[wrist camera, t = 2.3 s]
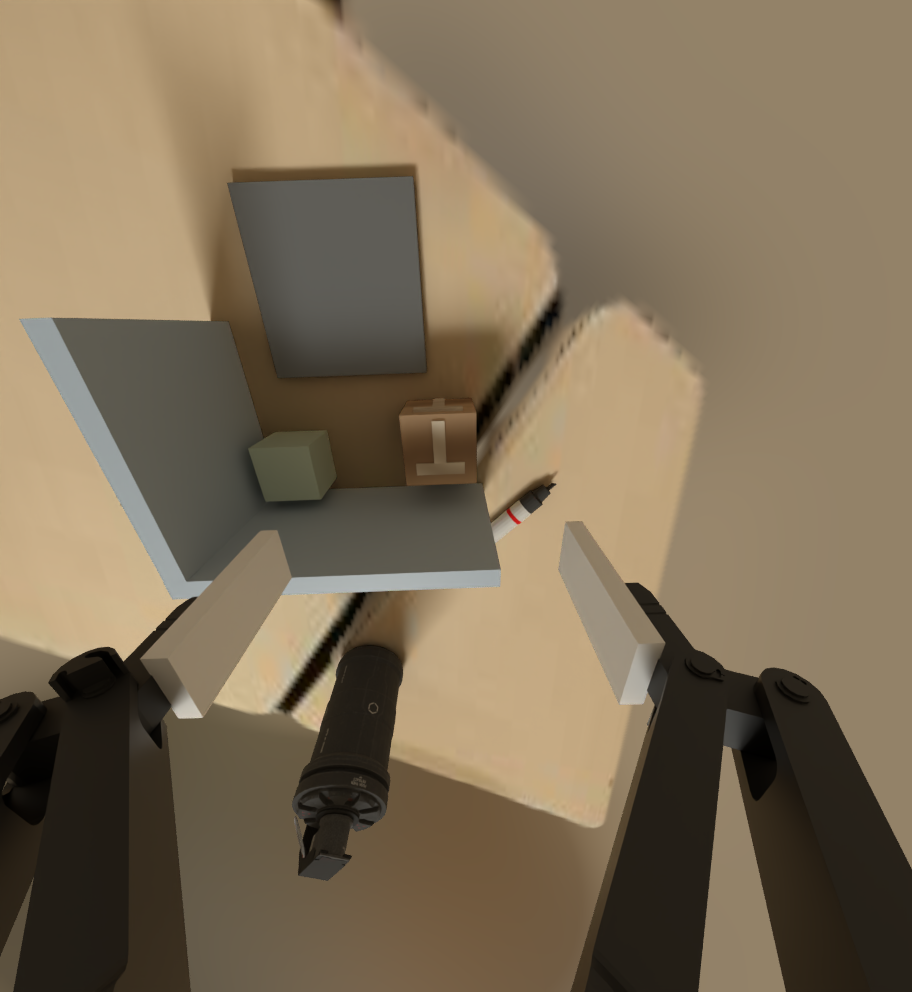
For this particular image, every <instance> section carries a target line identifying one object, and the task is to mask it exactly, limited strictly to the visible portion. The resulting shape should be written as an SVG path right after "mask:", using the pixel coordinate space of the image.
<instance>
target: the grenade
mask: <svg viewBox="0 0 912 992" xmlns="http://www.w3.org/2000/svg"><path fill="white" fill-rule="evenodd" d="M402 678H403V668H402V664H401V661H400V660H399V658H398V657H397V656H396V655H395V654H393V653H392V652H390V651H389V650H387V649H385V648H381V647H377V646H362V647H358V648H355V649H353V650H350V651H349V652H347V653H346V654H345V655H344V656H343V658H342V659H341V660H340V662H339V664H338V667H337V671H336V682H335V685H334V688H333V691H332V695H331V698H330V701H329V702H328V705H327V708H326V711H325V714H324V717H323V720H322V723H321V727H320V732H319V735H318V739H317V742H316V745H315V748H314V752H313V755H312V758H311V761H310V763H309V764H308V765H307V766H305V768H304V769H303V771H302V774H301V777H300V781H299V785H298V787H297V790H296V793H295V796H294V799H293V803H292V807H293V810H294V812H295V813H296V814H297V815H298V816H299V818H300V819H304V822H305V824H307V826H306V830H305V833H304V837H303V840H302V836H301V832H300V827H299V824H298V820H297V817H296V816H295V817H294V822H295V827H296V832H297V837H298V841H299V845H300V852H299V869H298V875H299V876H304V877H310V878H316V879H321V880H326V881H328V880H329V879H330V878H331V877H333V876H334V875H335V874H336V873H337V872H338V871H339V870H340V869H342V868H343V867H344V866H345V864H346V863H347V862H349V860H350V859H351V857H352V856H351V855H347V854H345V850H346V845H347V840H348V835H349V830H350V829H351V828H353V829H354V830H355V831H360V830H364V829H366V828H368V827H370V826H372V825H373V824H374V823H376V822H377V821H379V820H380V819H382V817H383V816H384V815H385V813H386V809H387V801H388V791H389V786H390V776H389V773H388V772H387V769H388V761H389V755H390V747H391V740H392V737H393V731H394V724H395V716H396V704H397V697H398V689H399V687H400V685H401V683H402ZM299 837H300V838H299ZM300 841H301V842H300Z"/></svg>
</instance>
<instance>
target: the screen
mask: <svg viewBox="0 0 912 992" xmlns="http://www.w3.org/2000/svg"><path fill="white" fill-rule="evenodd" d="M19 320H20V321H21V323H22V325H23V327H24V329H25V331H26V332H27V334H28V336H29V338H30V340H31V341H32V343H33V345H34V347H35V349H36V351H37V352H38V354H39V356H40V358H41V360H42V361H43V363H44V365H45V367H46V369H47V371H48V372H49V374H50V376H51V378H52V380H53V382H54V383H55V385H56V387H57V389H58V391H59V392H60V394H61V396H62V398H63V400H64V402H65V403H66V405H67V407H68V409H69V411H70V412H71V414H72V416H73V418H74V420H75V422H76V423H77V425H78V427H79V429H80V431H81V432H82V434H83V436H84V438H85V440H86V442H87V443H88V445H89V447H90V449H91V451H92V452H93V454H94V456H95V458H96V460H97V462H98V463H99V465H100V467H101V469H102V471H103V473H104V474H105V476H106V478H107V480H108V482H109V483H110V485H111V487H112V489H113V491H114V493H115V494H116V496H117V498H118V500H119V502H120V503H121V505H122V507H123V509H124V511H125V513H126V514H127V516H128V518H129V520H130V522H131V523H132V525H133V527H134V529H135V531H136V533H137V534H138V536H139V538H140V540H141V542H142V543H143V545H144V547H145V549H146V551H147V553H148V554H149V556H150V558H151V560H152V562H153V564H154V565H155V567H156V569H157V571H158V573H159V574H160V576H161V578H162V580H163V583H164V585H165V587H166V589H167V590H168V592H169V594H170V596H171V598H172V599H190V598H191V597H199V595H200V594H201V593H202V592H203V591H204V590H205V589H206V588H207V587H208V586H209V585H210V584H211V583H212V582H213V581H214V580H215V578H216V577H217V576H218V575H219V574H220V573H221V572H222V571H223V570H224V569H225V568H226V567H227V566H228V565H229V564H230V562H231V561H232V560H233V559H234V558H235V557H236V556H237V555H238V554H239V553H240V552H241V551H242V550H243V549H244V548H245V547H246V545H247V544H248V543H249V542H250V541H251V540H252V539H253V538H254V537H255V536H256V535H257V534H258V533H259V532H260V531H264V530H277V531H278V534H279V537H280V540H281V544H282V547H283V550H284V553H285V557H286V560H287V563H288V566H289V570H290V573H291V576H292V578H291V580H290V582H289V583H288V585H287V586H286V588H285V589H284V591H283V593H282V594H281V595H298V594H324V593H349V592H375V591H400V590H426V589H451V588H477V587H500V577H501V568H500V564H499V559H498V554H497V550H496V545H495V541H494V536H493V531H492V527H491V522H490V517H489V513H488V508H487V503H486V499H485V494H484V489H483V485H482V483H475V484H449V485H423V486H396V487H370V488H344V489H328V490H327V492H326V493H325V495H324V496H323V497H322V499H320V500H294V501H268V502H265V499H264V496H263V493H262V490H261V487H260V484H259V481H258V478H257V475H256V472H255V468H254V465H253V462H252V459H251V456H250V453H249V450H248V448H250V447H251V446H253V445H255V444H256V443H258V442H260V441H261V440H263V439H264V438H263V435H262V431H261V428H260V425H259V421H258V418H257V415H256V411H255V408H254V405H253V401H252V398H251V395H250V391H249V388H248V385H247V381H246V378H245V375H244V371H243V368H242V365H241V361H240V358H239V355H238V351H237V348H236V345H235V342H234V338H233V335H232V332H231V328H230V325H229V322H227V321H180V320H133V319H87V318H31V319H19Z"/></svg>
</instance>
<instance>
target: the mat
mask: <svg viewBox="0 0 912 992" xmlns="http://www.w3.org/2000/svg"><path fill="white" fill-rule="evenodd" d="M227 184H228V188H229V192H230V196H231V200H232V203H233V207H234V211H235V215H236V219H237V223H238V227H239V230H240V234H241V238H242V242H243V246H244V250H245V254H246V257H247V261H248V265H249V269H250V273H251V277H252V281H253V284H254V288H255V292H256V296H257V300H258V304H259V308H260V311H261V315H262V319H263V323H264V327H265V331H266V335H267V338H268V342H269V346H270V350H271V354H272V358H273V361H274V365H275V369H276V373H277V377H278V378H292V377H319V376H346V375H373V374H400V373H426V372H427V366H426V351H425V337H424V322H423V307H422V292H421V278H420V263H419V248H418V233H417V219H416V204H415V189H414V179H413V176H409V177H380V178H352V179H323V180H295V181H266V182H238V183H227Z"/></svg>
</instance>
